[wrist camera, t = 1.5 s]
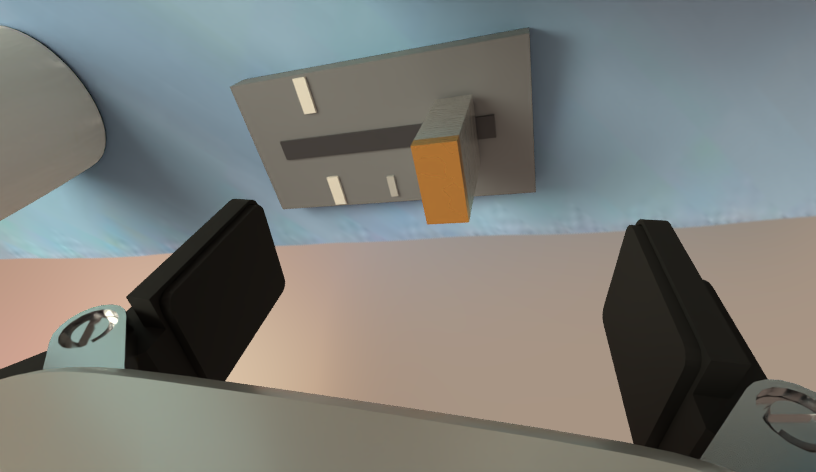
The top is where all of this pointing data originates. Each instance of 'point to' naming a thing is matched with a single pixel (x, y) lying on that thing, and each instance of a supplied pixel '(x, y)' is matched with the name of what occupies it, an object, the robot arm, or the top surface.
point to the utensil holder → (41, 122)
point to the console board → (390, 120)
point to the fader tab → (447, 160)
